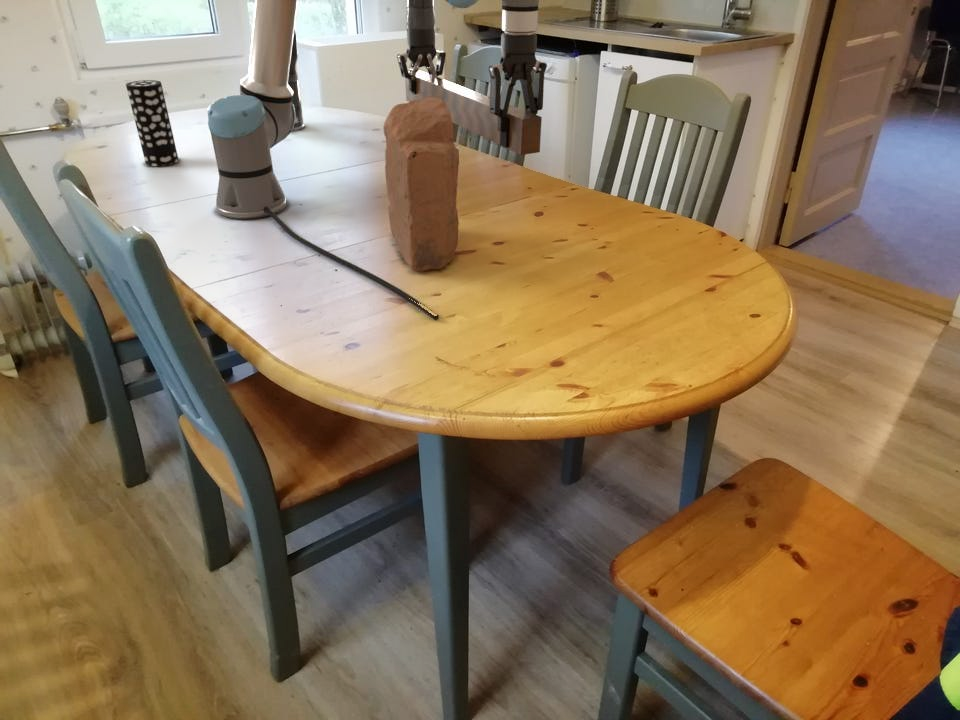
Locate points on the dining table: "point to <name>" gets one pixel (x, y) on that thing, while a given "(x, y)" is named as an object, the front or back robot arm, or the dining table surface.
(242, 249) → the dining table surface
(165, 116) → the black white spotted cylinder
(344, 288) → the dining table surface
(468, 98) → the beam
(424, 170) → the stone
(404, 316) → the dining table surface
